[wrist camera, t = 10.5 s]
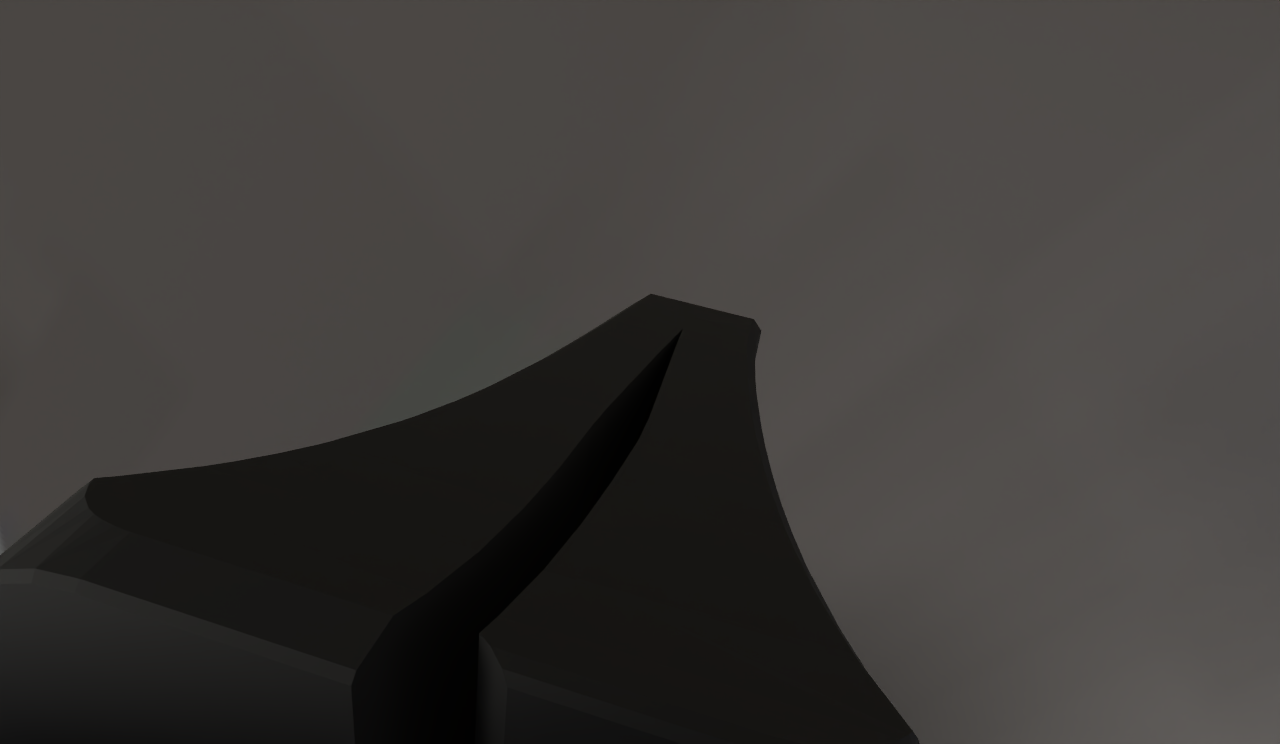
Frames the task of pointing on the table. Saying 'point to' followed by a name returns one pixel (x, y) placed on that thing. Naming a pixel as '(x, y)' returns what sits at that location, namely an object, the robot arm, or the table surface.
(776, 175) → the table surface
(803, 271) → the table surface
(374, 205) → the table surface
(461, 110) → the table surface
